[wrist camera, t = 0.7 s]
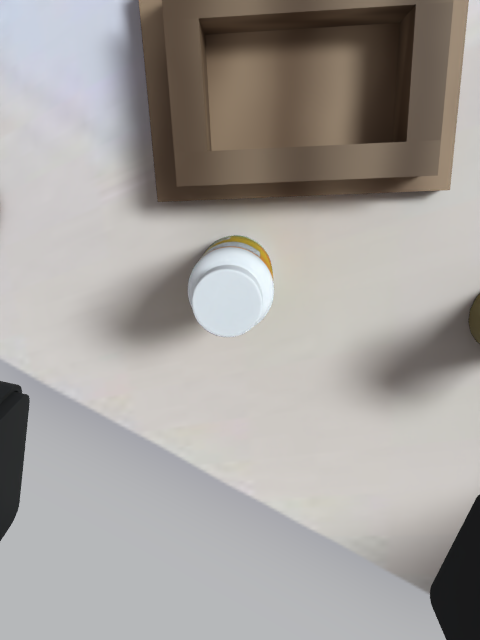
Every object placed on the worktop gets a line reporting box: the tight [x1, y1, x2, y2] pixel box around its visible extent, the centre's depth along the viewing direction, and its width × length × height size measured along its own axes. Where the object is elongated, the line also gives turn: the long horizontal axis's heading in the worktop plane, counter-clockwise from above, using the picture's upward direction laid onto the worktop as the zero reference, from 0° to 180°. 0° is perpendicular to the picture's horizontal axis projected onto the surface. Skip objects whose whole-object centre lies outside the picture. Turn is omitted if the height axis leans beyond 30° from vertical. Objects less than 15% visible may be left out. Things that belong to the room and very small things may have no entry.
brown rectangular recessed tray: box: [139, 0, 469, 202], centre depth 28 cm, size 20×13×4 cm, turn 92°
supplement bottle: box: [188, 235, 274, 337], centre depth 29 cm, size 5×5×10 cm
